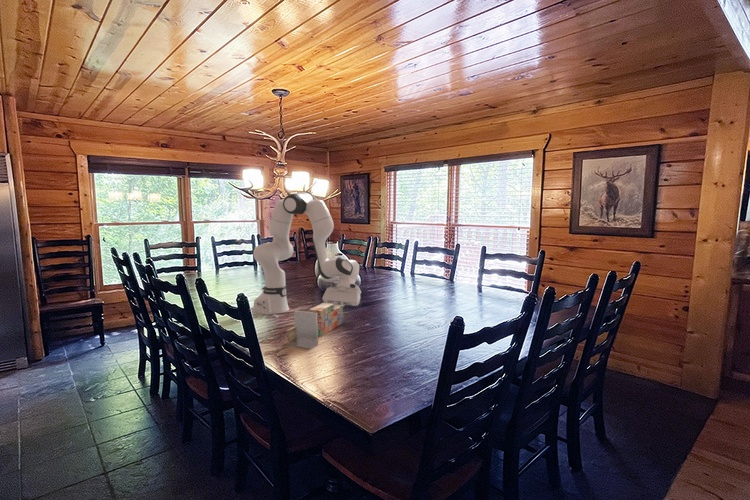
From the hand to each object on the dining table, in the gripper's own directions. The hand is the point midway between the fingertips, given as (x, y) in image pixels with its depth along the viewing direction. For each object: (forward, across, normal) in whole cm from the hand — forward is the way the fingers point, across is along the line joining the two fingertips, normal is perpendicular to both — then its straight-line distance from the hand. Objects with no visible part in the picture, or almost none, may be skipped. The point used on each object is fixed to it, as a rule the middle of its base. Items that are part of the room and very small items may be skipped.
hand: (336, 310), depth 201 cm
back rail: (+18, -5, -9) cm, 20 cm away
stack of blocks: (+12, +1, -4) cm, 13 cm away
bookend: (+28, +2, -20) cm, 35 cm away
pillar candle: (-19, -15, +28) cm, 37 cm away
